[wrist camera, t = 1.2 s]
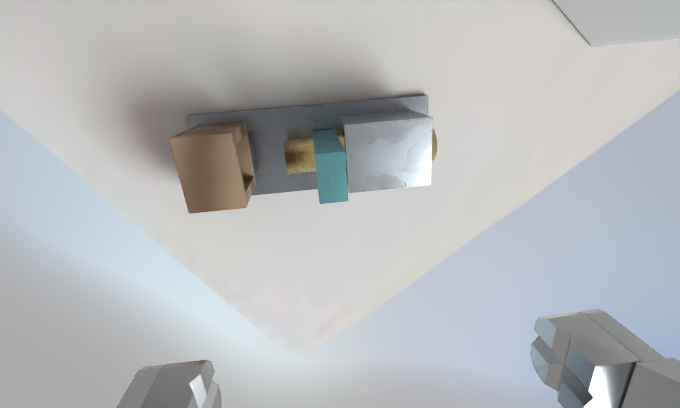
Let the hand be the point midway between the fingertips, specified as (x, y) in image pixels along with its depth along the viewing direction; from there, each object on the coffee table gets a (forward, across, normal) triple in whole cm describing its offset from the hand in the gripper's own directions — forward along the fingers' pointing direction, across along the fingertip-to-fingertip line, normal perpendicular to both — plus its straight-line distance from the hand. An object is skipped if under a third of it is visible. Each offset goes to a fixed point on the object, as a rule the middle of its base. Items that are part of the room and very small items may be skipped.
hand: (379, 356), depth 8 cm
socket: (+26, +9, 0) cm, 27 cm away
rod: (+25, -3, 0) cm, 25 cm away
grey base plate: (+26, +2, 0) cm, 26 cm away
